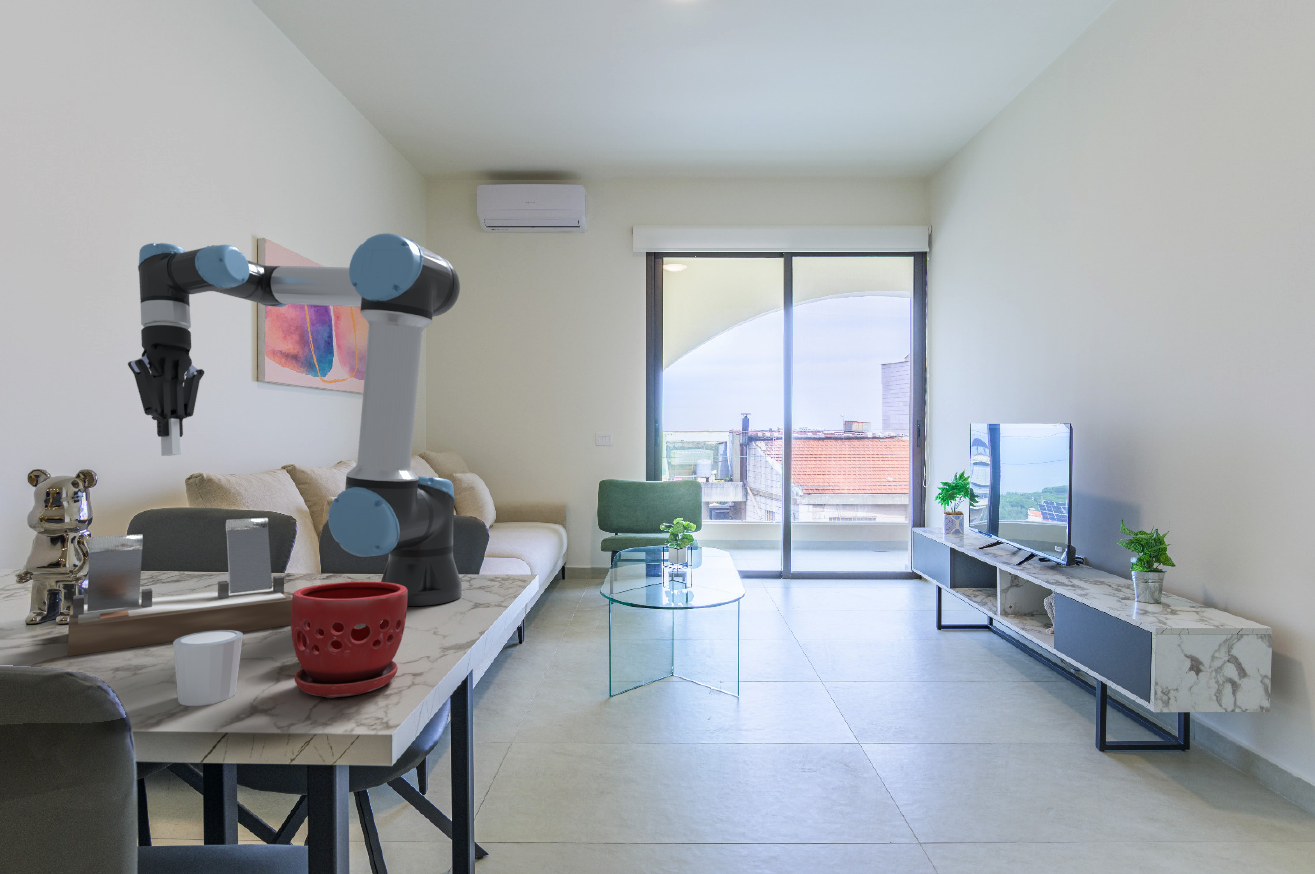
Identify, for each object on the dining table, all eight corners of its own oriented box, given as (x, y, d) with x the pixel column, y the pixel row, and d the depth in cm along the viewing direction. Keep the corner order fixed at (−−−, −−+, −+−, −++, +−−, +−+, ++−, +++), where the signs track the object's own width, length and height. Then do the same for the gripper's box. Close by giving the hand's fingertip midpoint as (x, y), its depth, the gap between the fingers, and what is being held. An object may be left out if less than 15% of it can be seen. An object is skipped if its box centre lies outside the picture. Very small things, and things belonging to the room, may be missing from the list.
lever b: (87, 604, 102) (89, 534, 98) (138, 598, 106) (142, 531, 101) (87, 613, 101) (89, 543, 96) (138, 608, 104) (143, 539, 100)
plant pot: (399, 699, 81) (401, 597, 81) (275, 708, 78) (277, 601, 78) (410, 664, 94) (412, 575, 94) (304, 670, 91) (306, 579, 91)
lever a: (229, 594, 114) (225, 522, 118) (270, 589, 118) (265, 520, 122) (231, 590, 112) (227, 517, 117) (272, 586, 116) (267, 515, 120)
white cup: (171, 693, 82) (173, 634, 82) (239, 682, 86) (240, 626, 86) (171, 712, 76) (173, 648, 76) (244, 700, 80) (245, 639, 80)
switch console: (69, 633, 106) (70, 589, 106) (275, 607, 123) (276, 569, 123) (67, 656, 95) (68, 607, 95) (294, 624, 113) (294, 583, 113)
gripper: (184, 339, 136) (189, 458, 134) (114, 324, 123) (118, 456, 121) (213, 332, 134) (219, 453, 131) (145, 317, 121) (150, 451, 119)
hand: (171, 454), depth 126 cm, fingers closed
